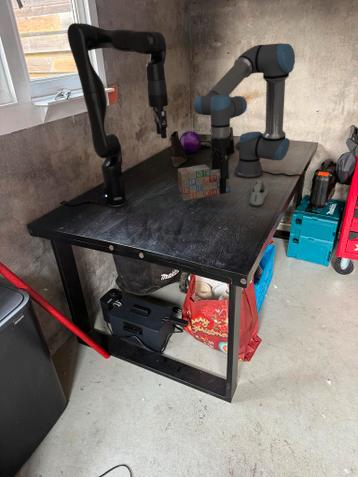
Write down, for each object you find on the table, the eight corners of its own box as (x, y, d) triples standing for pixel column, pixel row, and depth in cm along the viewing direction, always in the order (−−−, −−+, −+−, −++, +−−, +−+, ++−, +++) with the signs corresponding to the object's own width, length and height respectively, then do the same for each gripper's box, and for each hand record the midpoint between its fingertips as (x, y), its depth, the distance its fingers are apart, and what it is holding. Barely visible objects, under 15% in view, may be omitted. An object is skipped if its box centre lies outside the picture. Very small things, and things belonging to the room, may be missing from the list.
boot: (189, 157, 225) (188, 126, 215) (182, 168, 205) (180, 135, 195) (176, 157, 227) (175, 126, 217) (168, 168, 206) (166, 135, 196)
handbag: (222, 160, 214) (223, 120, 202) (210, 158, 219) (210, 119, 206) (235, 152, 229) (236, 114, 217) (223, 150, 234) (224, 113, 221)
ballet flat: (269, 188, 169) (270, 173, 165) (265, 208, 149) (266, 191, 145) (252, 187, 171) (253, 172, 167) (246, 206, 151) (247, 190, 147)
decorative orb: (204, 151, 235) (204, 129, 228) (194, 156, 225) (193, 134, 217) (186, 149, 243) (186, 128, 235) (175, 154, 232) (174, 132, 224)
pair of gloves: (199, 150, 238) (199, 143, 235) (184, 143, 258) (184, 136, 255) (235, 144, 247) (235, 137, 245) (218, 137, 268) (218, 131, 265)
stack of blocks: (225, 187, 147) (225, 161, 141) (230, 192, 142) (230, 165, 136) (179, 195, 143) (177, 168, 137) (182, 201, 138) (181, 173, 132)
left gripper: (144, 92, 131) (149, 134, 139) (151, 95, 119) (156, 141, 127) (163, 90, 132) (166, 131, 140) (171, 93, 120) (175, 138, 128)
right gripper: (203, 133, 140) (204, 184, 151) (220, 143, 123) (219, 200, 135) (220, 131, 141) (220, 182, 153) (238, 141, 125) (236, 197, 136)
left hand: (161, 136), depth 134 cm, fingers open, 8 cm apart
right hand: (219, 190), depth 144 cm, fingers closed on stack of blocks, 6 cm apart
